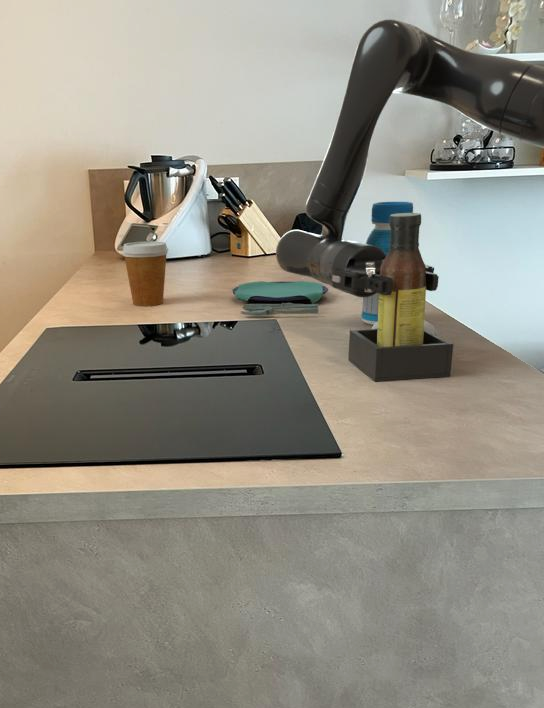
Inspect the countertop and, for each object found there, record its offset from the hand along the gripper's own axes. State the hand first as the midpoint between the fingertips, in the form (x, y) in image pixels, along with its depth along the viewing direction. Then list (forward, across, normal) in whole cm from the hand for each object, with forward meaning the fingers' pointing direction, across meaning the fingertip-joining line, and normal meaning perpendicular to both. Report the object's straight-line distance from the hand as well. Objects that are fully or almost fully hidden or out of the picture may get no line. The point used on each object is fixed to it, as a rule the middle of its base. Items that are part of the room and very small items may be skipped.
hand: (412, 285), depth 104 cm
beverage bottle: (-30, +14, +12) cm, 36 cm away
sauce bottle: (-2, 0, +11) cm, 11 cm away
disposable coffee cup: (-68, -20, +13) cm, 72 cm away
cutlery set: (-55, +4, +13) cm, 57 cm away
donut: (-15, +8, +12) cm, 21 cm away
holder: (-2, 0, +12) cm, 12 cm away
